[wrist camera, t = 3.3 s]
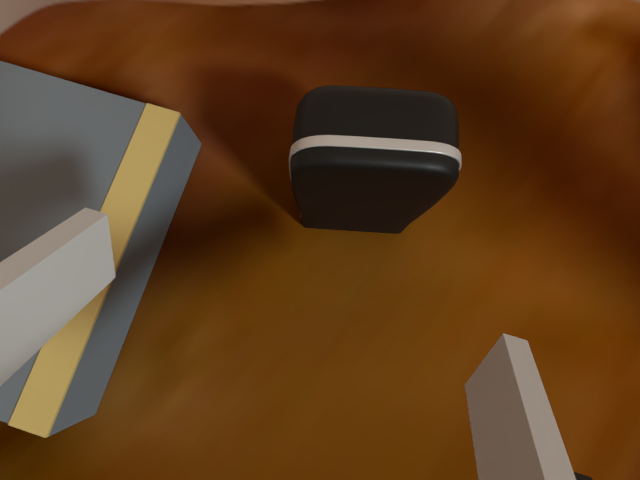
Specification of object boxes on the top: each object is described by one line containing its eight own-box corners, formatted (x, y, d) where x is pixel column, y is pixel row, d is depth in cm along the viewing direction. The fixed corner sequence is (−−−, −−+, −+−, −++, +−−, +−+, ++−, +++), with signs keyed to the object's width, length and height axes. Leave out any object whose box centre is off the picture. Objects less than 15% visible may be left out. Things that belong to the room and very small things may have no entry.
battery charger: (405, 180, 25) (478, 75, 14) (404, 235, 24) (479, 172, 13) (302, 173, 25) (289, 63, 14) (297, 228, 24) (281, 159, 13)
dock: (201, 144, 25) (179, 112, 21) (95, 414, 22) (45, 437, 18) (26, 91, 26) (-28, 51, 22) (-102, 347, 23) (-193, 355, 19)
